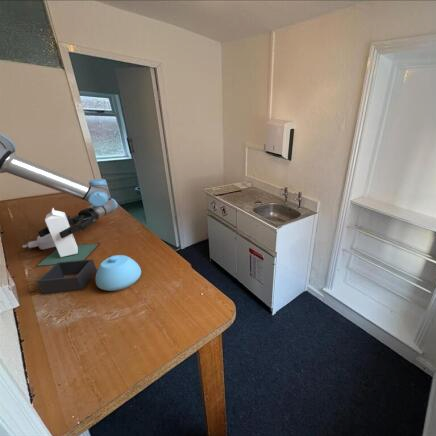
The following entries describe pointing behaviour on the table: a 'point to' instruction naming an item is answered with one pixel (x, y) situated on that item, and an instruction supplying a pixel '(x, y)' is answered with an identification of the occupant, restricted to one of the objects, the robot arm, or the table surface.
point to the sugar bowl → (117, 273)
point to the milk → (55, 225)
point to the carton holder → (56, 283)
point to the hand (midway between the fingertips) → (50, 234)
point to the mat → (81, 255)
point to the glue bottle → (42, 242)
